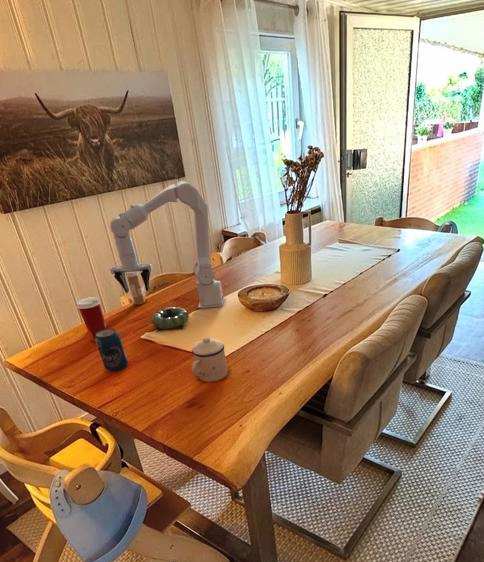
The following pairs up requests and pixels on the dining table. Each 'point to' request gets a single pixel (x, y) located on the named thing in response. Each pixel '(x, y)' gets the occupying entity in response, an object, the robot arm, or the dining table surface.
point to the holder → (170, 314)
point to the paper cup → (92, 315)
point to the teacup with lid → (209, 360)
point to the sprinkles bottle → (135, 287)
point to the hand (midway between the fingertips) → (137, 291)
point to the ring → (164, 322)
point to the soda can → (111, 350)
